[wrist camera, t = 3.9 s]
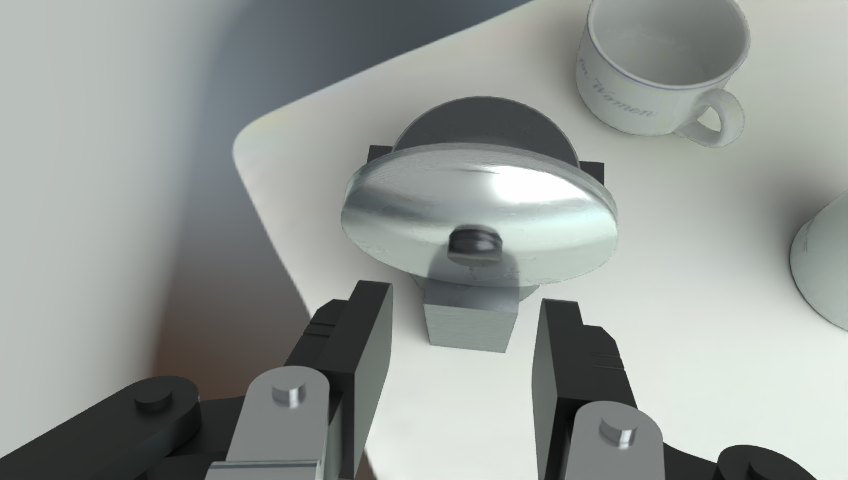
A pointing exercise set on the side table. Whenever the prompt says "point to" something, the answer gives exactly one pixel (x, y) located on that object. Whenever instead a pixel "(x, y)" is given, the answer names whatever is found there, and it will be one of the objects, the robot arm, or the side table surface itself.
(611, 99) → the teacup
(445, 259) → the lid
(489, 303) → the pot
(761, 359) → the side table surface
